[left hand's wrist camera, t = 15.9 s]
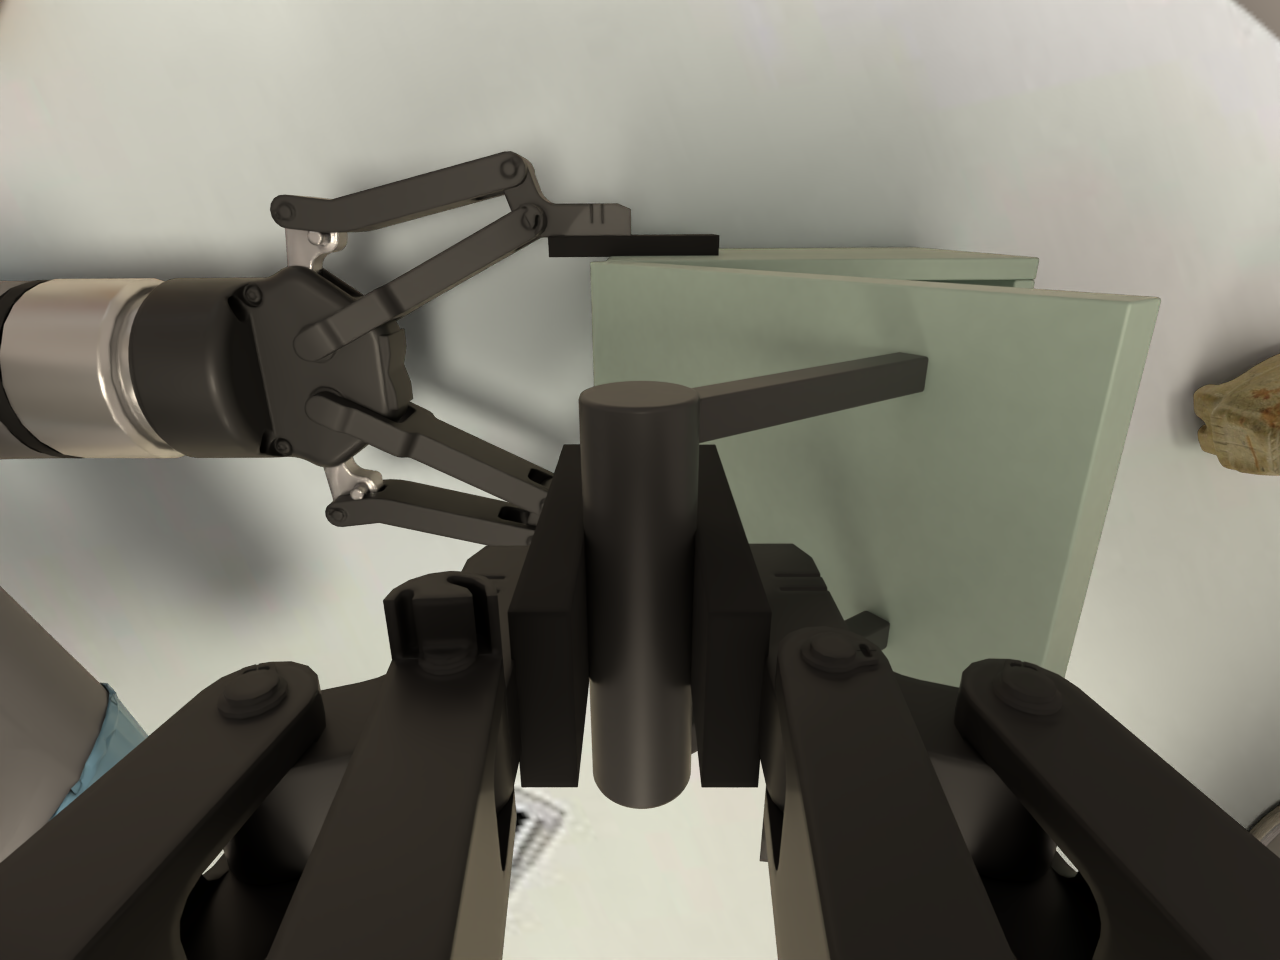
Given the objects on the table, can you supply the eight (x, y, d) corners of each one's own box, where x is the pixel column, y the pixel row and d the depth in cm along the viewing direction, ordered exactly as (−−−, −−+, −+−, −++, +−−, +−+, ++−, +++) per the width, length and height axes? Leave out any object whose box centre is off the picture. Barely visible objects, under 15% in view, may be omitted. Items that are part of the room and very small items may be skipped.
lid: (1163, 296, 11) (781, 356, 6) (1046, 753, 14) (736, 1017, 9) (619, 260, 23) (350, 271, 18) (623, 511, 26) (396, 574, 21)
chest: (916, 247, 33) (1040, 257, 23) (893, 426, 37) (992, 506, 26) (616, 249, 34) (605, 260, 23) (620, 427, 37) (611, 508, 26)
